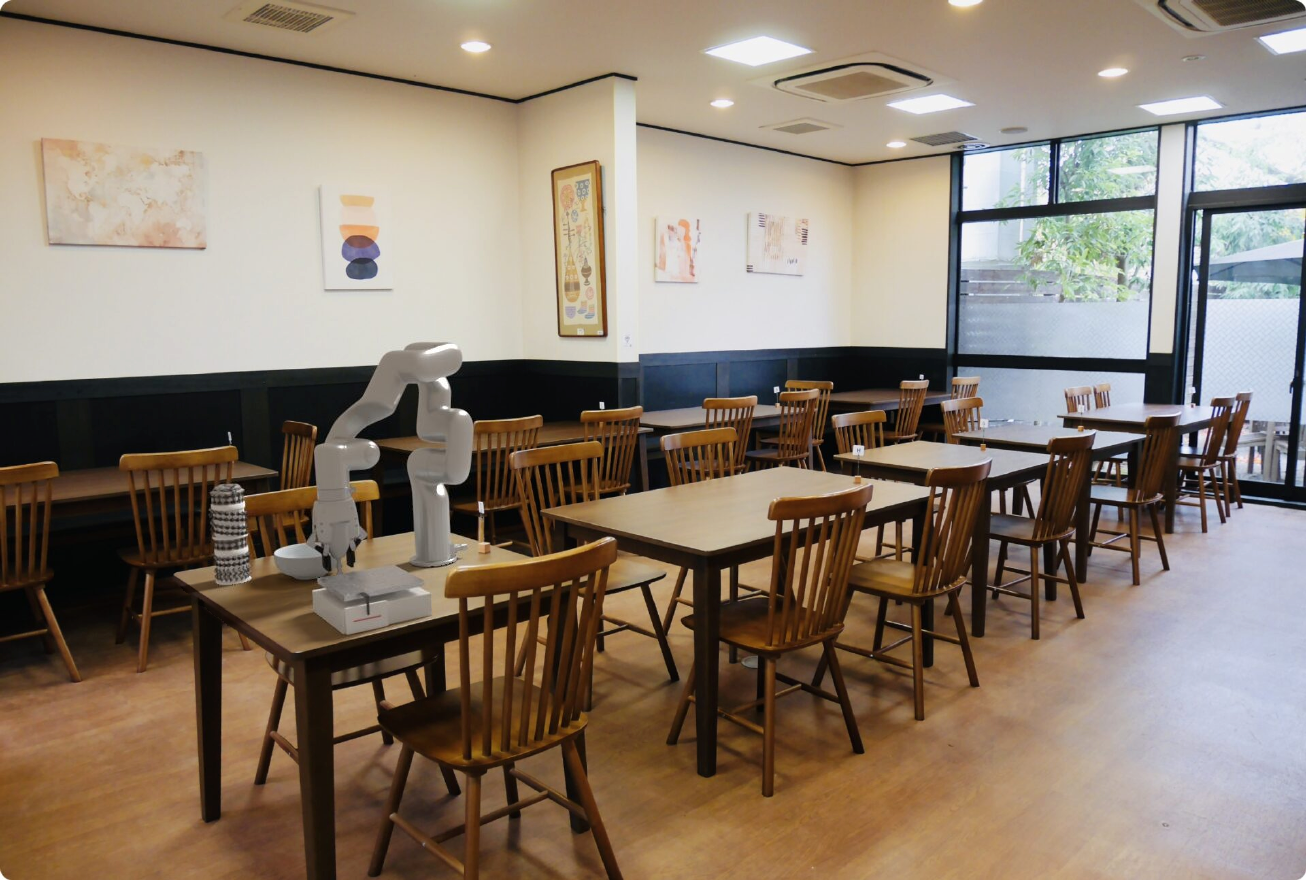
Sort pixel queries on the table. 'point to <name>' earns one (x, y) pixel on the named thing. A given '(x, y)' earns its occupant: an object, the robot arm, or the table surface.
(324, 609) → the base
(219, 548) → the decorative candle
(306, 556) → the cereal bowl
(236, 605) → the table surface
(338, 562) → the chalice
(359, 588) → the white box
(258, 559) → the table surface
